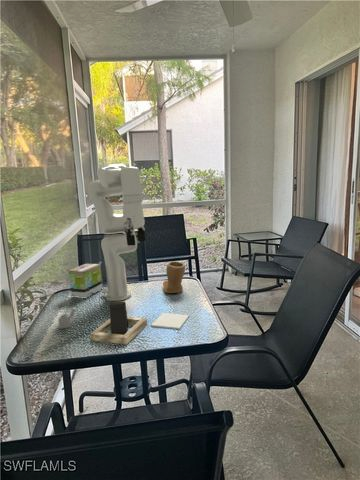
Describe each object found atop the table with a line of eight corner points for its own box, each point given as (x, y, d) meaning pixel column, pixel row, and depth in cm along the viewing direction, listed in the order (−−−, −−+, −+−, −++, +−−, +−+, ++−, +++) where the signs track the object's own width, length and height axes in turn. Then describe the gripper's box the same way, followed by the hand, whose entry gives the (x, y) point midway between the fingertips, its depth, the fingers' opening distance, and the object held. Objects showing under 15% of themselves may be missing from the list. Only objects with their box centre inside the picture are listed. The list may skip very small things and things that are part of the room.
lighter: (59, 328, 135) (57, 309, 133) (60, 326, 137) (58, 308, 135) (77, 326, 136) (75, 307, 135) (78, 324, 138) (76, 306, 136)
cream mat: (151, 326, 131) (151, 324, 131) (162, 314, 142) (162, 313, 142) (179, 329, 127) (179, 327, 127) (189, 316, 138) (189, 315, 138)
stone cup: (187, 293, 166) (185, 264, 163) (163, 295, 165) (161, 266, 162) (184, 284, 181) (183, 257, 178) (163, 286, 180) (161, 259, 177)
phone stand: (127, 336, 124) (124, 306, 122) (111, 338, 123) (107, 307, 121) (128, 326, 133) (125, 297, 131) (113, 327, 132) (110, 299, 130)
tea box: (86, 299, 168) (83, 271, 165) (70, 297, 171) (67, 270, 168) (103, 289, 181) (100, 263, 179) (88, 288, 185) (85, 262, 182)
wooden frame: (91, 340, 123) (90, 333, 122) (114, 321, 139) (114, 315, 138) (126, 344, 118) (126, 338, 117) (147, 324, 133) (146, 318, 133)
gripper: (133, 199, 137) (137, 239, 140) (113, 201, 121) (118, 247, 124) (149, 197, 135) (153, 239, 138) (131, 200, 119) (136, 247, 122)
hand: (136, 243), depth 131 cm, fingers open, 9 cm apart
